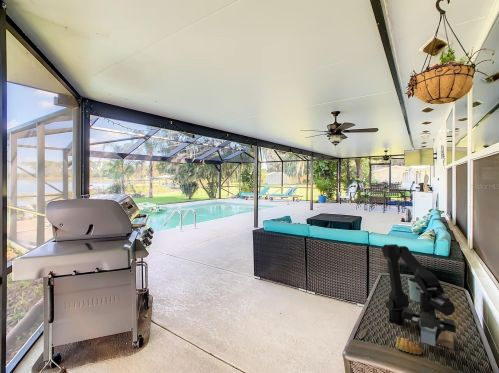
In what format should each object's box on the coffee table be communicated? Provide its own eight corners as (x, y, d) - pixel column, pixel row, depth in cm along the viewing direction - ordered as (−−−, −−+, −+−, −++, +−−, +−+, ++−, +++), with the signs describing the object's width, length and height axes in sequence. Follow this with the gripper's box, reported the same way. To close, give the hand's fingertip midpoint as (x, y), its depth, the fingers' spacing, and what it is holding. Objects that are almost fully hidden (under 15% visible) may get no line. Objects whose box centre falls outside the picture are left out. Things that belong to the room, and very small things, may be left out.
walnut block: (433, 344, 110) (433, 336, 110) (432, 336, 116) (432, 328, 116) (453, 350, 106) (453, 341, 106) (451, 341, 112) (451, 333, 112)
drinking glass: (432, 303, 145) (431, 283, 145) (414, 303, 146) (414, 283, 146) (420, 295, 156) (420, 277, 156) (404, 296, 156) (404, 277, 156)
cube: (420, 341, 107) (420, 330, 107) (421, 336, 111) (421, 325, 111) (435, 346, 104) (435, 334, 104) (435, 340, 108) (435, 329, 108)
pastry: (421, 349, 106) (421, 340, 106) (421, 358, 101) (421, 349, 101) (396, 341, 112) (396, 333, 112) (395, 350, 106) (395, 341, 106)
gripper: (400, 304, 107) (401, 339, 107) (456, 318, 96) (456, 358, 96) (403, 295, 116) (404, 327, 116) (455, 306, 104) (455, 343, 104)
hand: (428, 338), depth 108 cm, fingers closed on cube, 5 cm apart
